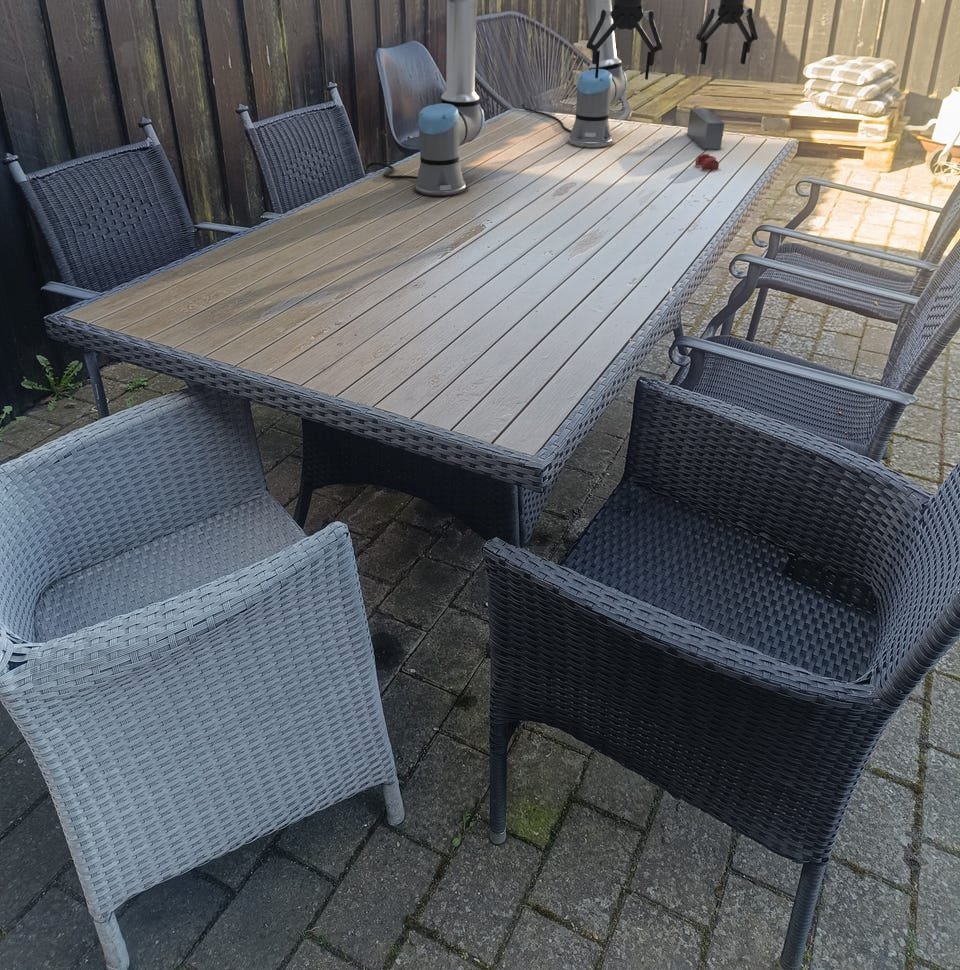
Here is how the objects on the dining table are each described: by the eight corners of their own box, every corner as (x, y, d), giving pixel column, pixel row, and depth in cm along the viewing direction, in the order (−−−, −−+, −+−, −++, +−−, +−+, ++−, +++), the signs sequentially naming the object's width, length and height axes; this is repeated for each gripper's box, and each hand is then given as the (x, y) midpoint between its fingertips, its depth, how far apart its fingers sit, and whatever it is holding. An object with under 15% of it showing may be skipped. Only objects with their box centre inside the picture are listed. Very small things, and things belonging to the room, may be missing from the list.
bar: (686, 133, 316) (690, 108, 310) (702, 133, 316) (706, 108, 311) (703, 149, 297) (707, 123, 292) (720, 149, 297) (724, 123, 292)
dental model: (710, 150, 279) (721, 156, 273) (708, 163, 282) (719, 170, 275) (694, 152, 278) (705, 158, 272) (693, 165, 281) (704, 172, 274)
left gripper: (677, -12, 221) (667, 76, 233) (582, -14, 224) (576, 74, 236) (678, -9, 215) (667, 81, 227) (580, -11, 218) (575, 79, 230)
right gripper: (698, -8, 268) (689, 66, 280) (775, -8, 269) (762, 65, 281) (692, -10, 274) (683, 62, 286) (767, -11, 275) (755, 61, 287)
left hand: (621, 78), depth 232 cm, fingers open, 13 cm apart
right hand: (722, 63), depth 284 cm, fingers open, 13 cm apart
